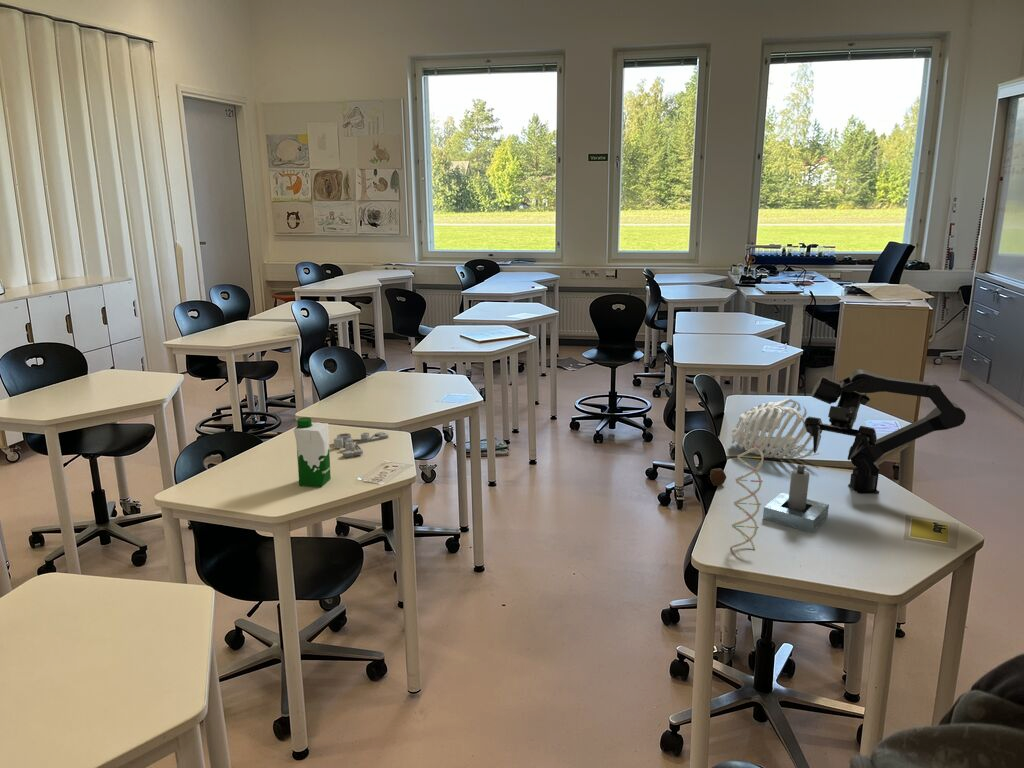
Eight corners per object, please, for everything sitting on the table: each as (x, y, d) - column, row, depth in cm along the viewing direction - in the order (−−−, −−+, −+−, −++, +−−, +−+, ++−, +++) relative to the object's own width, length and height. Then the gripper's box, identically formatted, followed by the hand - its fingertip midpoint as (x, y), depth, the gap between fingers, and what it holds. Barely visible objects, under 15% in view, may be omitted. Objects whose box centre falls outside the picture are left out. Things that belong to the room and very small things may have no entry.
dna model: (730, 553, 178) (740, 436, 170) (727, 541, 184) (736, 428, 176) (758, 556, 176) (769, 438, 169) (755, 544, 183) (765, 429, 175)
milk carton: (307, 476, 226) (303, 414, 221) (335, 478, 225) (331, 416, 220) (294, 487, 218) (290, 423, 213) (323, 489, 216) (319, 424, 212)
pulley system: (317, 458, 245) (357, 460, 241) (315, 444, 244) (356, 446, 240) (355, 436, 271) (392, 438, 267) (354, 424, 270) (391, 425, 266)
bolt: (699, 473, 235) (719, 489, 220) (686, 467, 234) (706, 482, 219) (708, 458, 234) (729, 473, 220) (696, 451, 233) (716, 466, 219)
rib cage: (813, 444, 258) (731, 433, 266) (820, 396, 253) (737, 386, 261) (818, 471, 234) (728, 459, 243) (827, 418, 229) (734, 407, 237)
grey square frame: (779, 504, 207) (781, 492, 206) (827, 516, 199) (828, 504, 198) (762, 519, 197) (763, 507, 196) (812, 532, 189) (813, 520, 188)
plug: (799, 514, 200) (805, 462, 196) (807, 521, 196) (813, 468, 192) (783, 514, 200) (789, 462, 196) (791, 521, 196) (796, 468, 192)
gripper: (809, 389, 212) (792, 434, 206) (879, 400, 200) (863, 448, 195) (815, 409, 219) (799, 453, 214) (882, 421, 208) (867, 468, 202)
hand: (831, 455), depth 206 cm, fingers open, 9 cm apart
